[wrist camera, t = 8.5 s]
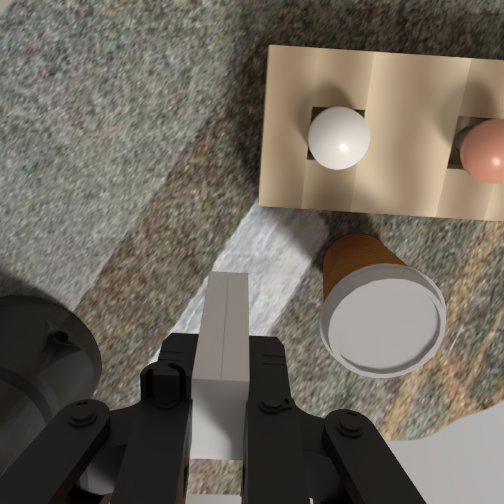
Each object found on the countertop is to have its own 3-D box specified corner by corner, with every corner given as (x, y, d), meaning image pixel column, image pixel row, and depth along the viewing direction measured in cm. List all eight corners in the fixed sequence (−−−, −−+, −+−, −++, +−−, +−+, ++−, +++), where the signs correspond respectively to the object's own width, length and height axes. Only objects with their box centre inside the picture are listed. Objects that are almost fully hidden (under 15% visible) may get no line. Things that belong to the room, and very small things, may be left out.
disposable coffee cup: (319, 208, 43) (340, 261, 32) (418, 226, 44) (472, 285, 33) (296, 297, 47) (308, 372, 36) (387, 313, 47) (427, 392, 36)
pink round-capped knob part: (436, 166, 38) (460, 181, 34) (448, 110, 36) (475, 118, 32) (489, 170, 38) (521, 185, 34) (504, 114, 36) (539, 123, 32)
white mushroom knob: (300, 154, 39) (306, 167, 35) (306, 99, 38) (312, 106, 33) (352, 157, 39) (365, 171, 35) (360, 103, 38) (374, 110, 33)
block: (258, 189, 43) (258, 205, 38) (268, 45, 38) (269, 44, 33) (497, 204, 43) (526, 222, 38) (536, 63, 38) (575, 65, 34)
